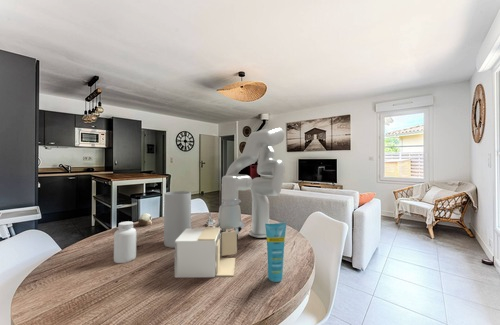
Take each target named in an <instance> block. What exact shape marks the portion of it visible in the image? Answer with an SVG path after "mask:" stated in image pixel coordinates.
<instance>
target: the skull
mask: <svg viewBox="0 0 500 325" xmlns="http://www.w3.org/2000/svg"><path fill="white" fill-rule="evenodd" d="M152 220H153V218H152V215H151V214H150V213H147V212H145V213H142V214H141V215H140V216H139V217H138V221H137V223H136V224H134V227H137V226H139V227H147V226H149V225H151V224H152V223H153V222H152Z"/></svg>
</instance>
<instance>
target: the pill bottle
mask: <svg viewBox="0 0 500 325" xmlns="http://www.w3.org/2000/svg"><path fill="white" fill-rule="evenodd" d="M117 224H118V227H117V230H116V231H114V234H113V262H114V263H116V264H126V263H130V262H132V261H134V260H135V259H136V257H137V230H136V228H135V227H134V222H133V221H129V220H128V221H121V222H119V223H117Z"/></svg>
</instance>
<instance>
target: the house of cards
mask: <svg viewBox="0 0 500 325" xmlns="http://www.w3.org/2000/svg"><path fill="white" fill-rule="evenodd" d="M206 223H207V224H206ZM205 224H206V226H207V225H214V224H215V225H216V220H215V219H213V220H212V213H210V212H209V214H208V219H207V221H206V222H205ZM215 225H214V226H215Z"/></svg>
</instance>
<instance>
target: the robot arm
mask: <svg viewBox="0 0 500 325" xmlns="http://www.w3.org/2000/svg"><path fill="white" fill-rule="evenodd" d="M284 140H285V131H284V129H282V128H281V127H274V128H265V129H260V130H258V131H253V132H251V133H250V134H249V136H248V138H247V140H246V142H245V146H244V148H243V151H242V153H241V155H239V156H238V157H237V158H236V159H235V160H234V161H233V162H232V163H231V164H230V165H229V167H228V169H227V171H226V174H225V175H223V176H222V177H221V205H220V206H219V209H218V216H217V217H218V218H217V223H215V225H214V226H213V228H220V235H221V233H222V232H227V230H229V229H230V230H231V229H233V231H237V241H239V234H240V232H241V230H243V229H244V228H245V227H246V225H245V223H244V222H243V220H242V212H241V206H240V205H239V204H240V203H242V199H239V191H248V190H250V192H251V229H250V230H249V232H248V234H249V236H251V237H254V238H259V239H261V238H267V236H266V227H265V224H270V201H269V198H268V197H267V196H270V197H271V196H273V197H276V196H277V197H278V196H279V195H280V194H281V192H282V188H283V182H284V177H285V176H284V175H285V172H286V170H285V169H286V166H285V164H284V161H283V160H282V159H275V155H276V152H275V150H274V148H273V147H274V146H276V145H279V144H281V143H283V142H284ZM257 161H258V163H257V166H256V173H257V174H258V175H260V176H261V177H253V178H252V177H251V176H250V175H248V174H242V173H241V174H240V173H239V172H241V170H243V169H245V168H246V167H248V166H251V165H252V164H254V163H256V162H257Z"/></svg>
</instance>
